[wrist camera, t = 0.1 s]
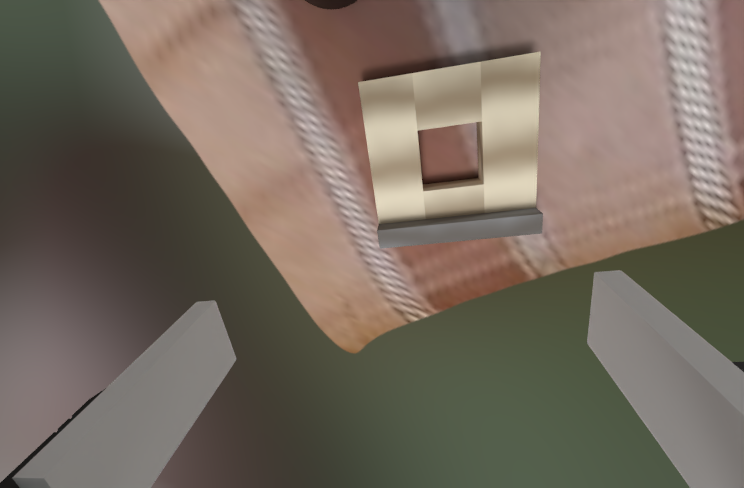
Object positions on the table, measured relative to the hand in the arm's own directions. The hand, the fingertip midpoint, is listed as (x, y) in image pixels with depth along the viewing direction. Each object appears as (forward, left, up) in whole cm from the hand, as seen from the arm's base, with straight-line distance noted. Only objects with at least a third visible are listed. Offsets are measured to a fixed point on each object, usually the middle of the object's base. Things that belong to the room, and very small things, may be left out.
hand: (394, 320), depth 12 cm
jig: (-1, +5, -28) cm, 28 cm away
